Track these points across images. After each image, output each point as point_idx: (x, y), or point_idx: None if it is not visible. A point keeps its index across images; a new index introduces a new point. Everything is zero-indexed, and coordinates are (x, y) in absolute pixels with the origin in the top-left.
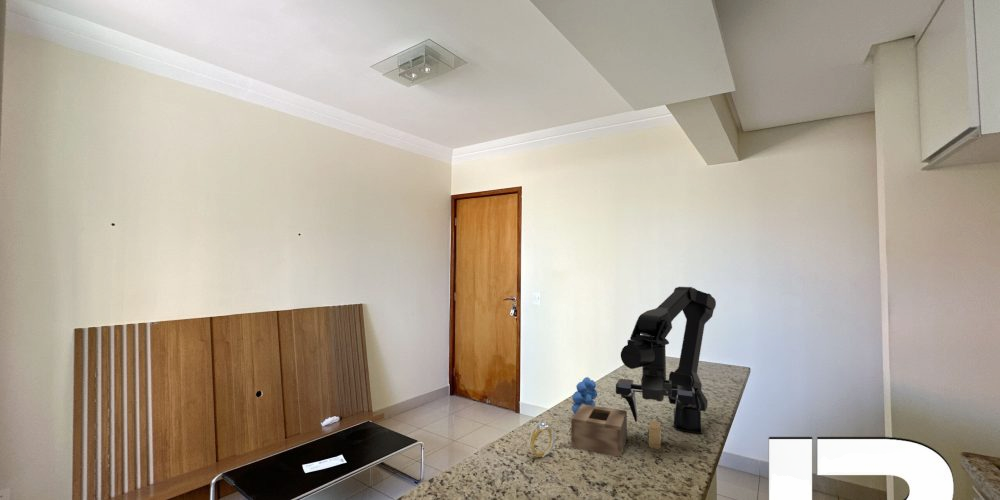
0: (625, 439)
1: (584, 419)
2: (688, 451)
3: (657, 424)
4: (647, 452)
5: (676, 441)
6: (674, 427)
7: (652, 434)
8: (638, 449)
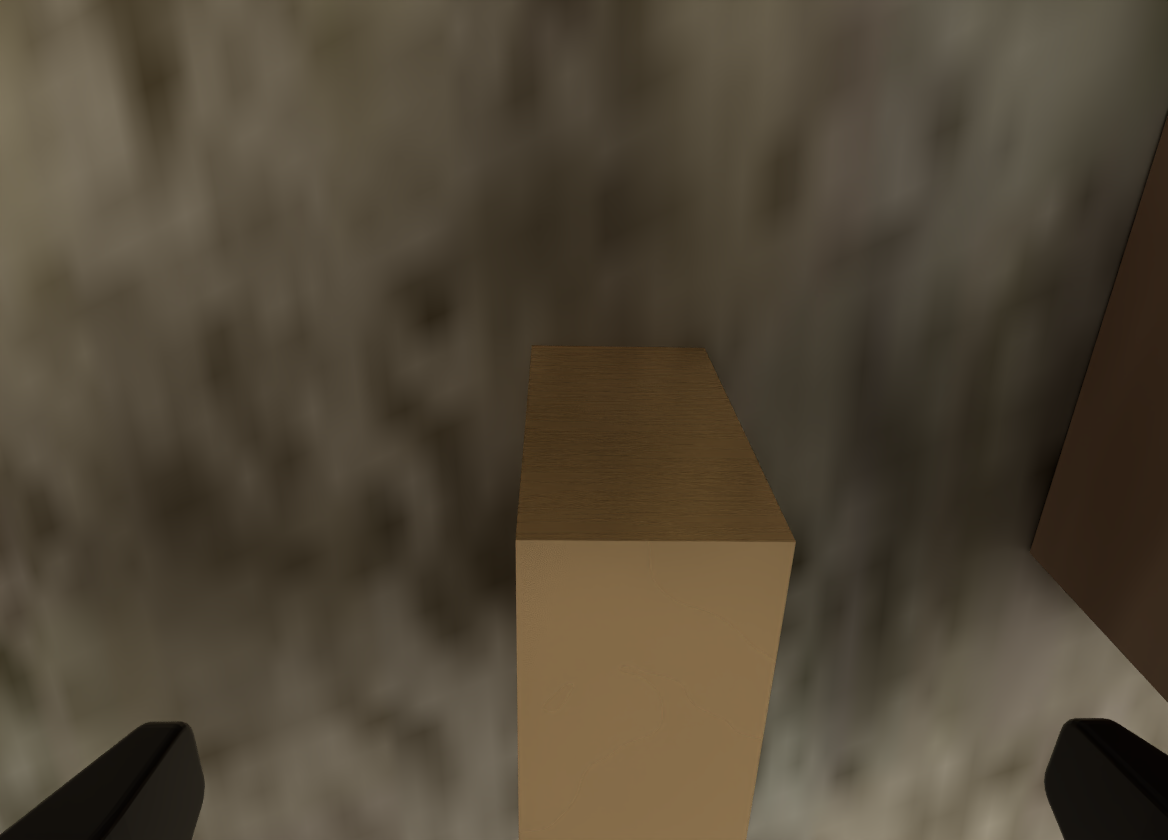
0: (1119, 388)
1: None
2: (104, 450)
3: (579, 767)
4: (742, 113)
5: (323, 700)
6: (161, 726)
7: (680, 452)
8: (895, 177)
